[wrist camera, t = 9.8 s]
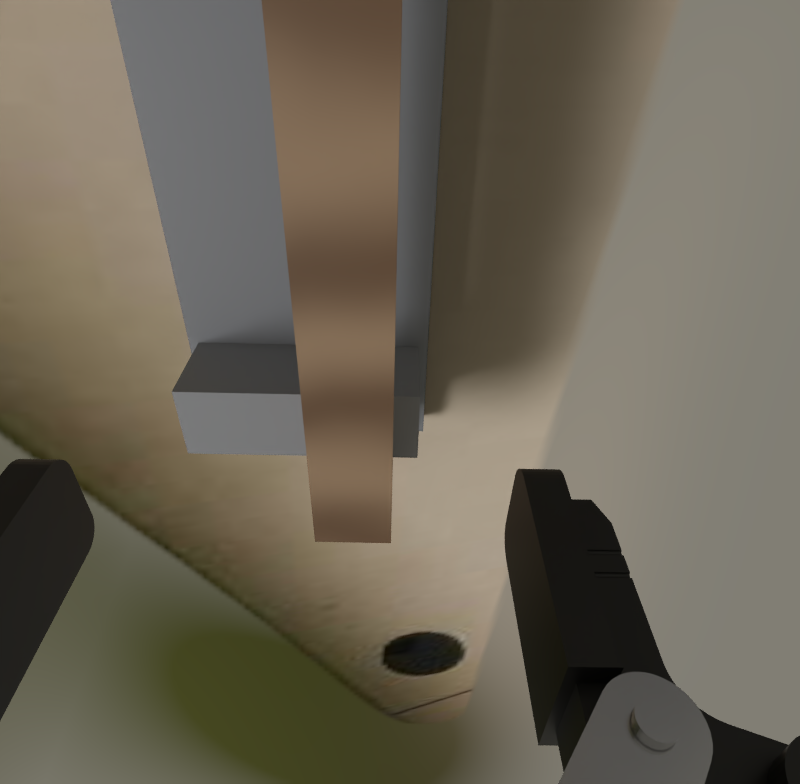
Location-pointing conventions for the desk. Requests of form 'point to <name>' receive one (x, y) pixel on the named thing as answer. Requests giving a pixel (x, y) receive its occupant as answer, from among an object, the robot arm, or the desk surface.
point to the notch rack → (264, 215)
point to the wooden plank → (341, 243)
